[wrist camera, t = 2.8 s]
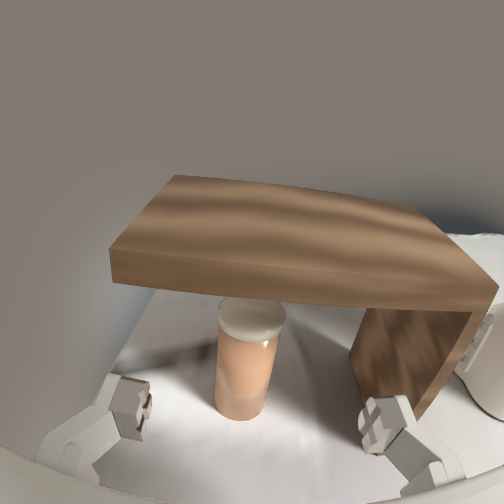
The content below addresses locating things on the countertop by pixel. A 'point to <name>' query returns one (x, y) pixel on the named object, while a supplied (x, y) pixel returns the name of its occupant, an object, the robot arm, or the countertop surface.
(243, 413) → the jar
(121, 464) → the countertop surface
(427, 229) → the shelf
